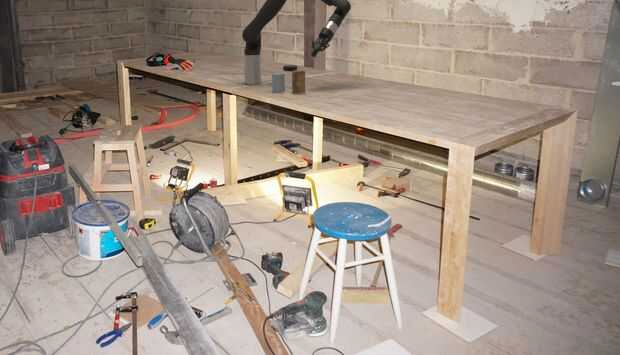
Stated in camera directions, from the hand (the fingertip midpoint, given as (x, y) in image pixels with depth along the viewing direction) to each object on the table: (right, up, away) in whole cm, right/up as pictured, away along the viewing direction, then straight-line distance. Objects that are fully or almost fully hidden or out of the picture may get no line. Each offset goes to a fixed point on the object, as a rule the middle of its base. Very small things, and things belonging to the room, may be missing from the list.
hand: (312, 56), depth 303 cm
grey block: (-19, -19, +4) cm, 27 cm away
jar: (-13, -14, +18) cm, 27 cm away
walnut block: (-8, -20, 0) cm, 22 cm away
